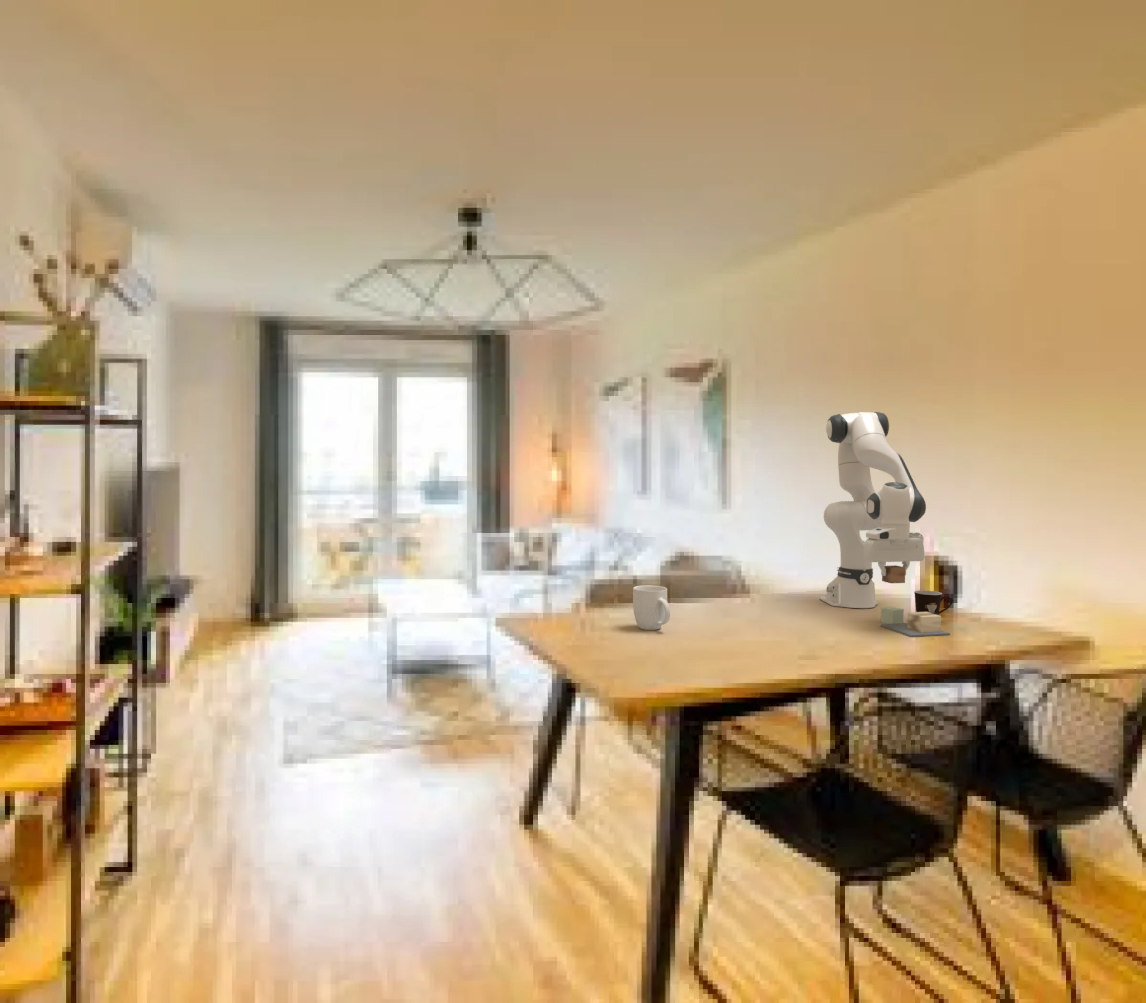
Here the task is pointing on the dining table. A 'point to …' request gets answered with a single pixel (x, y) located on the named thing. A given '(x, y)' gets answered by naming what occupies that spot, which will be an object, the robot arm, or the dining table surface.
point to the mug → (650, 606)
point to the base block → (924, 622)
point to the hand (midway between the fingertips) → (893, 575)
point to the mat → (905, 630)
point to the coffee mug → (929, 601)
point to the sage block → (891, 615)
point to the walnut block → (894, 574)
